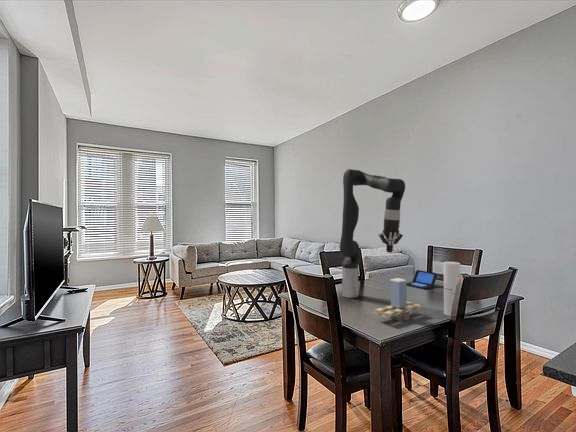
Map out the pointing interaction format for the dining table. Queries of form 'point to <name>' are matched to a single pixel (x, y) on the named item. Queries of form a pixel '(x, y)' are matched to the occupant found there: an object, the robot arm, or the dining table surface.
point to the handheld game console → (423, 280)
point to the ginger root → (397, 311)
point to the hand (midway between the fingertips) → (389, 252)
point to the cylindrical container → (450, 284)
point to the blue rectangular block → (398, 293)
